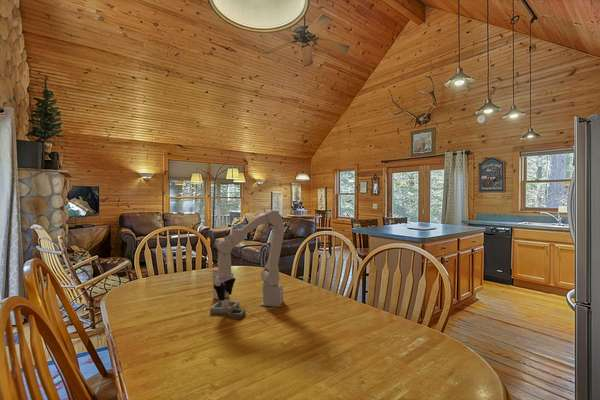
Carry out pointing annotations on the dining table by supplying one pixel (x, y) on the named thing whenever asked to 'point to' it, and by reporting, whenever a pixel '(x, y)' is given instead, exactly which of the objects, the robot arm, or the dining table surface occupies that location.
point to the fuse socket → (236, 313)
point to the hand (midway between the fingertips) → (225, 297)
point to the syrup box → (215, 274)
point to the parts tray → (224, 311)
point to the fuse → (225, 301)
